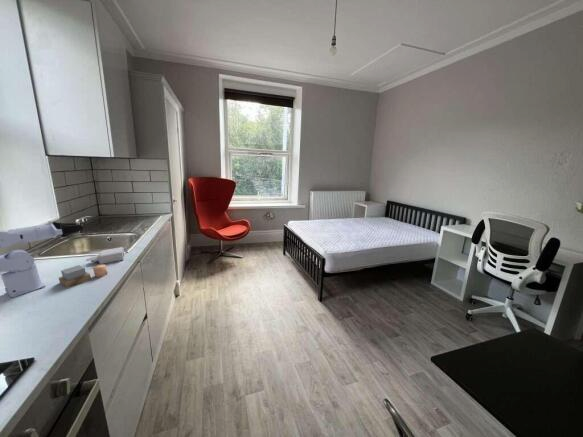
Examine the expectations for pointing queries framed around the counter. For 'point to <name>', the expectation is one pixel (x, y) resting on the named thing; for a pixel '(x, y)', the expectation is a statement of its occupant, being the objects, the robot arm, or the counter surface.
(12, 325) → the counter surface
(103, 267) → the cylinder
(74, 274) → the upper block
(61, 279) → the base slab
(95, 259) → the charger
